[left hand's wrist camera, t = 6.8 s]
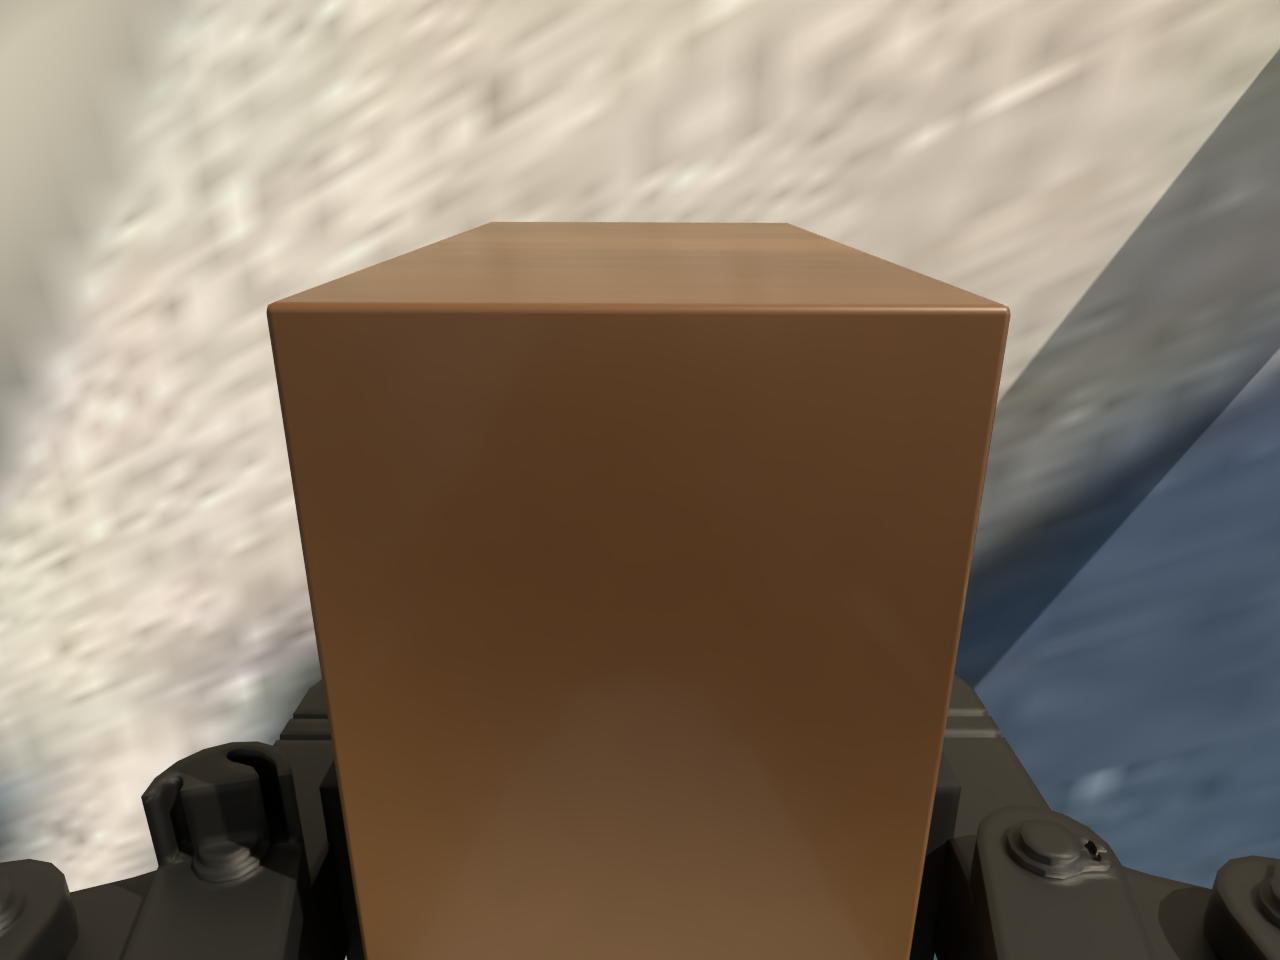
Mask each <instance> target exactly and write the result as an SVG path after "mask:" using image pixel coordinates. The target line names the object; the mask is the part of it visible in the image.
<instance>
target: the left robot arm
mask: <svg viewBox="0 0 1280 960" xmlns="http://www.w3.org/2000/svg"><path fill="white" fill-rule="evenodd" d="M141 798H142V802H143V806H144V810H145V814H146V818H147V822H148V826H149V830H150V834H151V837H152V841H153V845H154V849H155V853H156V857H157V861H158V865H159V866H158V869H157V870H156V871H152V872H149V873H146V874H143V875H140V876H136V877H133V878H129V879H125V880H121V881H117V882H112V883H108V884H104V885H100V886H96V887H91V888H87V889H83V890H79V891H75V892H69V889H68V886H67V883H66V879H65V876H64V874H63V873H62V872H61V871H60V870H59V869H58V868H56V867H55V866H54V865H53V864H52V863H49V862H43V861H38V860H32V859H25V860H18V861H10V862H3V863H0V960H345V957H346V956H347V960H365V959H364V952H363V945H362V939H361V932H360V926H359V919H358V912H357V906H356V899H355V893H354V886H353V879H352V873H351V866H350V860H349V853H348V846H347V840H346V833H345V827H344V820H343V814H342V807H341V800H340V794H339V787H338V781H337V774H336V767H335V761H334V754H333V748H332V741H331V734H330V728H329V721H328V715H327V708H326V701H325V695H324V688H323V682H322V680H321V681H319V682H318V683H317V684H315V685H314V686H313V687H311V688H310V689H309V690H308V692H307V693H306V695H305V697H304V698H303V700H302V701H301V703H300V704H299V706H298V708H297V709H296V711H295V712H294V714H293V719H290V720H289V722H288V723H287V725H286V726H285V728H284V729H283V731H282V733H281V734H280V740H276V742H275V744H274V745H273V746H272V745H268V744H265V743H261V742H231V743H227V744H223V745H219V746H215V747H211V748H207V749H203V750H201V751H199V752H197V753H195V754H192V755H190V756H188V757H186V758H184V759H182V760H179V761H177V762H176V763H174V764H173V765H172V766H170V767H169V768H168V769H166V770H165V771H164V772H162V773H161V774H160V775H158V776H157V777H156V778H155V779H154V780H153V781H152V783H151V784H150V786H149V787H148V788H147V790H146V791H145V792H144V794H143V795H142V796H141ZM934 953H935V954H936V957H937V959H938V960H1280V859H1274V858H1267V857H1260V856H1247V857H1242V858H1236V859H1230V860H1229V861H1228V862H1227V863H1226V864H1225V865H1224V866H1223V867H1222V868H1220V869H1219V870H1218V872H1217V875H1216V878H1215V882H1214V885H1213V888H1212V889H1208V888H1204V887H1200V886H1195V885H1191V884H1187V883H1183V882H1179V881H1174V880H1170V879H1166V878H1162V877H1158V876H1153V875H1149V874H1146V873H1143V872H1139V871H1136V870H1133V869H1130V868H1126V867H1124V866H1122V865H1121V863H1120V862H1119V860H1118V858H1117V857H1116V855H1115V854H1114V852H1113V851H1112V849H1111V847H1110V846H1109V845H1108V844H1107V843H1106V842H1105V841H1104V840H1103V839H1101V838H1100V837H1099V836H1098V835H1097V834H1096V833H1094V832H1093V831H1092V830H1091V829H1090V828H1088V827H1087V826H1085V825H1083V824H1081V823H1079V822H1077V821H1075V820H1073V819H1072V818H1070V817H1068V816H1066V815H1064V814H1062V813H1058V812H1054V811H1051V809H1050V807H1049V806H1048V804H1047V803H1046V801H1045V800H1044V798H1043V797H1042V795H1041V793H1040V792H1039V790H1038V789H1037V787H1036V786H1035V784H1034V783H1033V781H1032V779H1031V778H1030V776H1029V775H1028V773H1027V772H1026V770H1025V769H1024V767H1023V765H1022V764H1021V762H1020V761H1019V759H1018V758H1017V756H1016V755H1015V753H1014V751H1013V750H1012V748H1011V747H1010V745H1009V744H1008V742H1007V741H1006V739H1005V738H1002V737H1001V731H1000V730H999V728H998V727H997V725H996V724H995V722H994V720H993V719H992V717H991V716H988V711H987V710H986V708H985V706H984V705H983V703H982V702H981V700H980V699H979V697H978V696H977V694H976V692H975V691H974V689H973V688H972V686H970V685H969V684H968V683H966V682H965V681H964V680H962V679H961V678H960V677H958V676H957V675H956V674H954V677H953V684H952V690H951V696H950V703H949V709H948V715H947V722H946V728H945V734H944V741H943V747H942V753H941V760H940V766H939V773H938V779H937V785H936V792H935V798H934V804H933V811H932V817H931V823H930V830H929V836H928V842H927V849H926V855H925V862H924V868H923V874H922V881H921V887H920V893H919V900H918V906H917V912H916V919H915V925H914V931H913V938H912V944H911V951H910V957H909V960H933V959H934Z"/></svg>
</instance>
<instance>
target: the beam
mask: <svg viewBox="0 0 1280 960" xmlns="http://www.w3.org/2000/svg"><path fill="white" fill-rule="evenodd" d="M267 319H268V325H269V332H270V339H271V345H272V352H273V358H274V365H275V372H276V378H277V385H278V391H279V398H280V405H281V411H282V418H283V424H284V431H285V438H286V444H287V451H288V457H289V464H290V471H291V477H292V484H293V490H294V497H295V504H296V510H297V517H298V523H299V530H300V537H301V543H302V550H303V556H304V563H305V569H306V576H307V583H308V589H309V596H310V602H311V609H312V616H313V622H314V629H315V635H316V642H317V649H318V655H319V662H320V668H321V675H322V682H323V688H324V695H325V701H326V708H327V715H328V721H329V728H330V734H331V741H332V748H333V754H334V761H335V767H336V774H337V781H338V787H339V794H340V800H341V807H342V814H343V820H344V827H345V833H346V840H347V846H348V853H349V860H350V866H351V873H352V879H353V886H354V893H355V899H356V906H357V912H358V919H359V926H360V932H361V939H362V945H363V952H364V959H365V960H909V957H910V951H911V944H912V938H913V931H914V925H915V919H916V912H917V906H918V900H919V893H920V887H921V881H922V874H923V868H924V862H925V855H926V849H927V842H928V836H929V830H930V823H931V817H932V811H933V804H934V798H935V792H936V785H937V779H938V773H939V766H940V760H941V753H942V747H943V741H944V734H945V728H946V722H947V715H948V709H949V703H950V696H951V690H952V684H953V677H954V671H955V664H956V658H957V652H958V645H959V639H960V633H961V626H962V620H963V614H964V607H965V601H966V594H967V588H968V582H969V575H970V569H971V563H972V556H973V550H974V544H975V537H976V531H977V525H978V518H979V512H980V505H981V499H982V493H983V486H984V480H985V474H986V467H987V461H988V455H989V448H990V442H991V436H992V429H993V423H994V416H995V410H996V404H997V397H998V391H999V385H1000V378H1001V372H1002V366H1003V359H1004V353H1005V347H1006V340H1007V334H1008V327H1009V321H1010V310H1009V307H1007V306H1005V305H1002V304H1000V303H997V302H994V301H992V300H989V299H987V298H984V297H981V296H979V295H976V294H973V293H971V292H968V291H965V290H963V289H960V288H957V287H955V286H952V285H949V284H947V283H944V282H942V281H939V280H936V279H934V278H931V277H928V276H926V275H923V274H920V273H918V272H915V271H912V270H910V269H907V268H905V267H902V266H899V265H897V264H894V263H891V262H889V261H886V260H883V259H881V258H878V257H875V256H873V255H870V254H867V253H865V252H862V251H860V250H857V249H854V248H852V247H849V246H846V245H844V244H841V243H838V242H836V241H833V240H830V239H828V238H825V237H823V236H820V235H817V234H815V233H812V232H809V231H807V230H804V229H801V228H799V227H796V226H793V225H791V224H788V223H632V222H490V223H488V224H485V225H482V226H479V227H477V228H474V229H471V230H469V231H466V232H463V233H460V234H458V235H455V236H452V237H450V238H447V239H444V240H441V241H439V242H436V243H433V244H431V245H428V246H425V247H423V248H420V249H417V250H414V251H412V252H409V253H406V254H404V255H401V256H398V257H395V258H393V259H390V260H387V261H385V262H382V263H379V264H376V265H374V266H371V267H368V268H366V269H363V270H360V271H357V272H355V273H352V274H349V275H347V276H344V277H341V278H339V279H336V280H333V281H330V282H328V283H325V284H322V285H320V286H317V287H314V288H311V289H309V290H306V291H303V292H301V293H298V294H295V295H292V296H290V297H287V298H284V299H282V300H279V301H276V302H274V303H271V304H269V305H268V307H267Z"/></svg>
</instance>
